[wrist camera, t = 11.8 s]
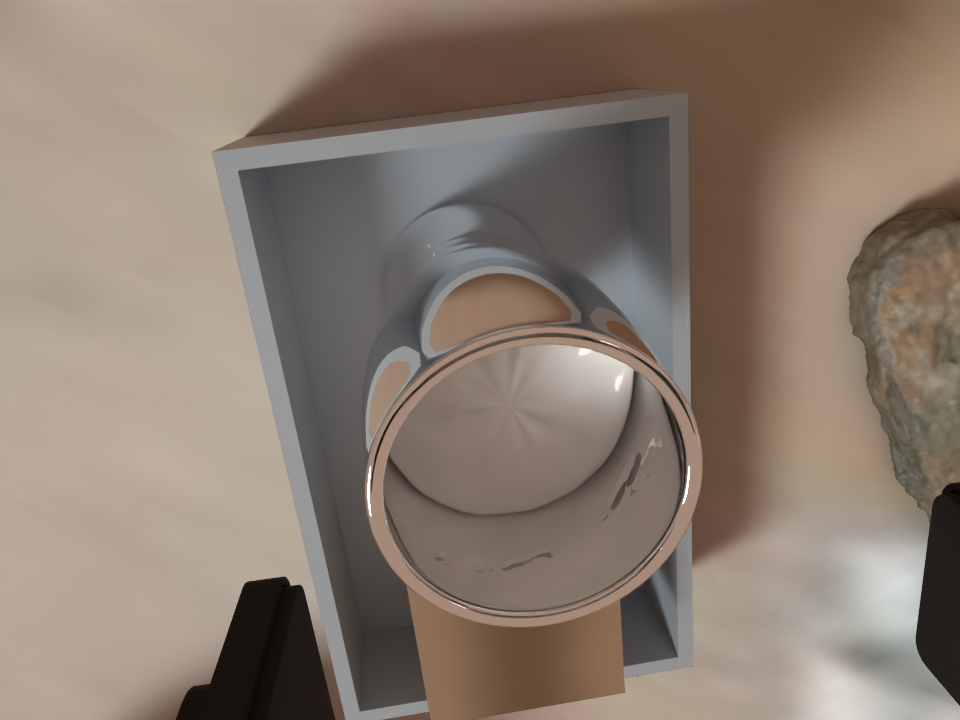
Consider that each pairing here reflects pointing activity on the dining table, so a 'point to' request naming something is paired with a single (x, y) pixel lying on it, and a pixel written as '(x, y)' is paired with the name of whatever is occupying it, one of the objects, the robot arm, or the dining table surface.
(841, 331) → the dining table surface
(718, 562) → the dining table surface
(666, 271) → the tote
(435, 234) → the beer glass
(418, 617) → the walnut block
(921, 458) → the elongated rock
